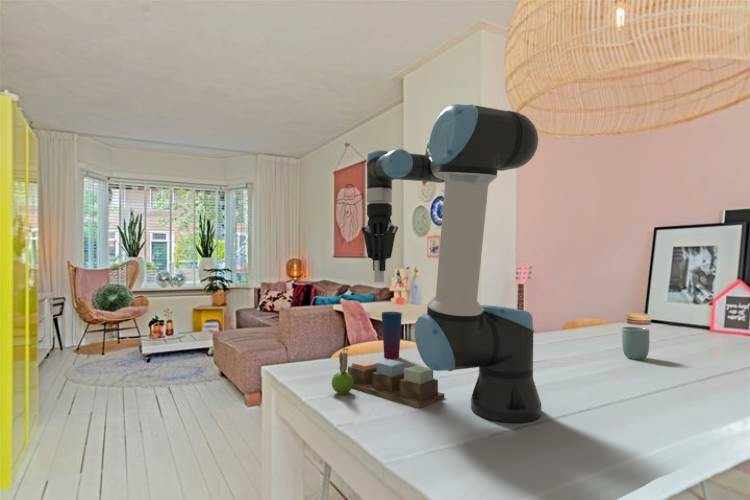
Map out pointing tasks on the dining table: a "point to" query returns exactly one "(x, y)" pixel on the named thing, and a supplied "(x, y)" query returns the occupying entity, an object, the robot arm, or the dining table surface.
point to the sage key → (418, 374)
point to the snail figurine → (342, 376)
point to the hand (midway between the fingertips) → (379, 282)
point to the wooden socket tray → (395, 387)
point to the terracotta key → (364, 365)
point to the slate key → (390, 368)
